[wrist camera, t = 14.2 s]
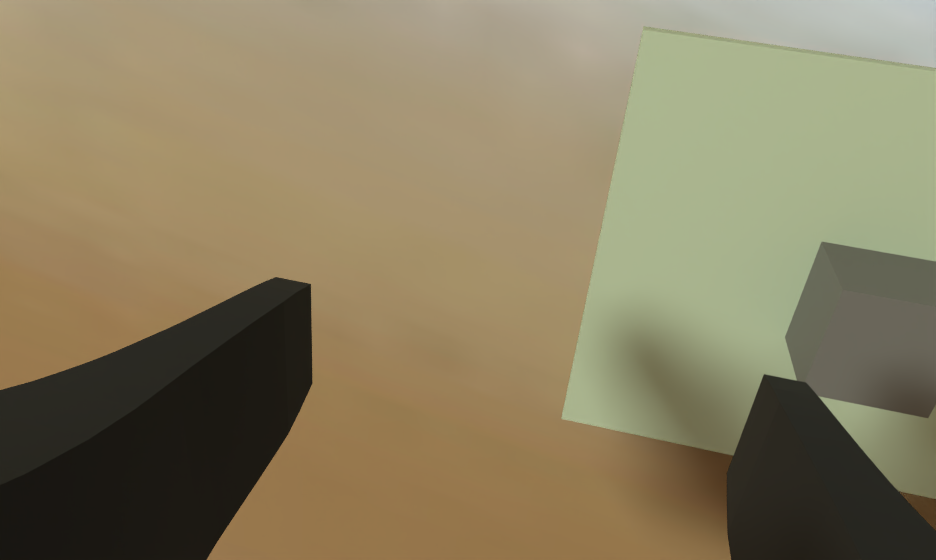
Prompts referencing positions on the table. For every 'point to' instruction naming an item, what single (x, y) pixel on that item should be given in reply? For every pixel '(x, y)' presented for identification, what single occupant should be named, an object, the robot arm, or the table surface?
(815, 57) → the toolbox lid
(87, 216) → the table surface
